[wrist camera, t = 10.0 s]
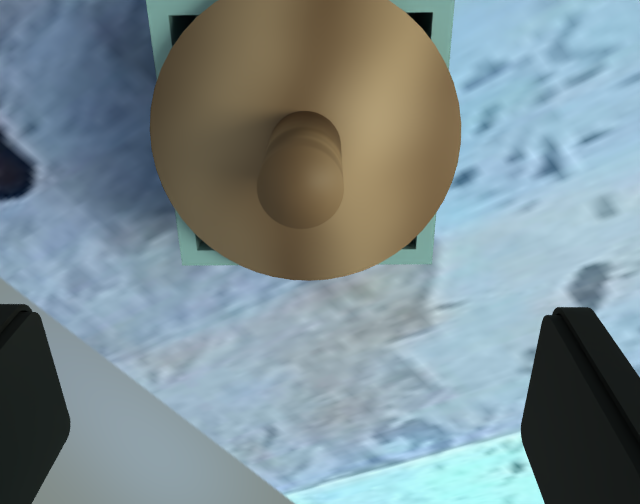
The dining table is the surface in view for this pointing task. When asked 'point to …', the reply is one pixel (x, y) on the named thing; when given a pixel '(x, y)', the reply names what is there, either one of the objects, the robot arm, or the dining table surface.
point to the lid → (305, 133)
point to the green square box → (187, 3)
